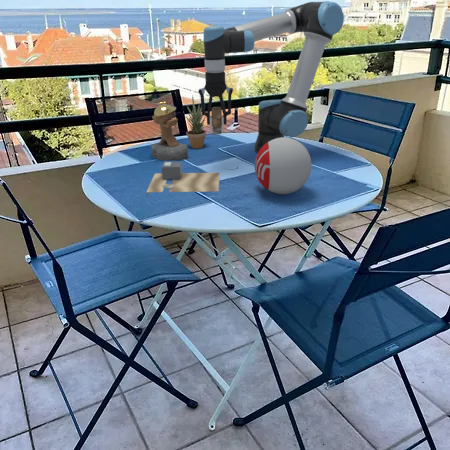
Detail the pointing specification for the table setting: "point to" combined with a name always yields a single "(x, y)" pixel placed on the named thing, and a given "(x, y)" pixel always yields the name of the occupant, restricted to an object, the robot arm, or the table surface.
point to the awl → (216, 119)
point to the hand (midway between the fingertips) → (217, 132)
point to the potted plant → (196, 128)
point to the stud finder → (171, 170)
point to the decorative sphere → (283, 165)
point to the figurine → (167, 136)
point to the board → (186, 183)
